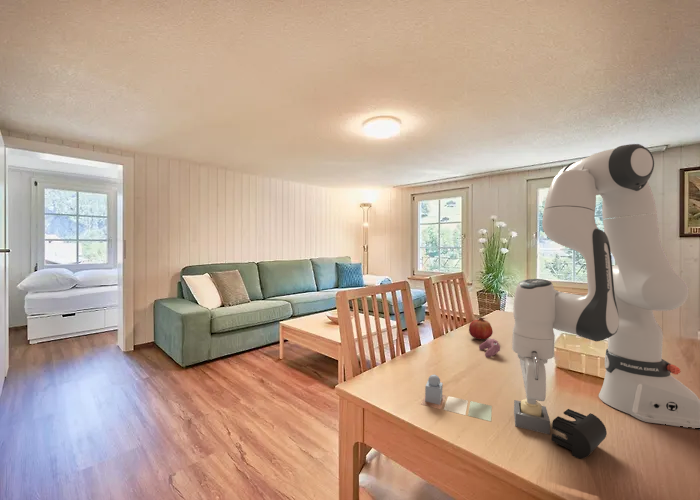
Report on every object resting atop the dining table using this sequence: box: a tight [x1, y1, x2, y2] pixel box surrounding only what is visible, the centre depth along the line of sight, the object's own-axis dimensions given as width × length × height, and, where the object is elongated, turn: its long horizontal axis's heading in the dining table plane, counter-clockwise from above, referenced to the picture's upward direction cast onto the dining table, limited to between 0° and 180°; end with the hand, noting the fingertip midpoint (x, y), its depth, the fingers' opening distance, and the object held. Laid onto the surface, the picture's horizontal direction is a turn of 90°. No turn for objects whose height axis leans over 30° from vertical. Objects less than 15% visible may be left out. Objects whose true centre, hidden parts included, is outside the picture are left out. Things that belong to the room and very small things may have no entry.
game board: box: [420, 394, 493, 422], centre depth 83 cm, size 18×10×1 cm, turn 64°
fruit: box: [468, 317, 494, 340], centre depth 142 cm, size 11×10×10 cm
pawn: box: [424, 374, 444, 405], centre depth 86 cm, size 4×4×7 cm
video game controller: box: [478, 337, 501, 358], centre depth 124 cm, size 10×5×7 cm, turn 172°
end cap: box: [551, 408, 608, 460], centre depth 67 cm, size 10×7×7 cm
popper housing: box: [513, 399, 551, 435], centre depth 75 cm, size 7×7×4 cm
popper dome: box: [521, 398, 543, 417], centre depth 75 cm, size 4×4×5 cm
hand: (530, 401), depth 75 cm, fingers closed, pressing on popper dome
